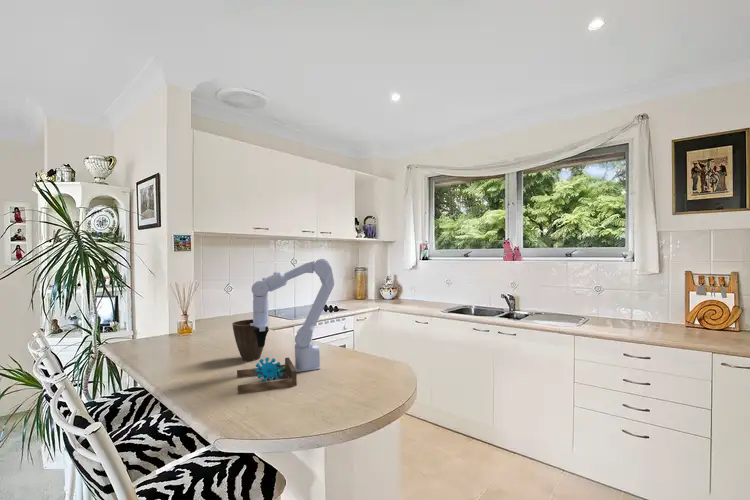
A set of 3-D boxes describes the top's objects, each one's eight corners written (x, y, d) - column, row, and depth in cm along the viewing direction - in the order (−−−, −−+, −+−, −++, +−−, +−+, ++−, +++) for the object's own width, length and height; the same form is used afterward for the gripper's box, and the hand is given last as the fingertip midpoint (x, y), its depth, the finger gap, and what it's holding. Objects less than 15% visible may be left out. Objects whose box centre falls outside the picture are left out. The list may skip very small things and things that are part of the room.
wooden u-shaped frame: (289, 370, 142) (288, 357, 142) (296, 385, 126) (296, 370, 126) (237, 377, 135) (236, 363, 135) (237, 393, 119) (237, 378, 119)
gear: (258, 382, 125) (254, 356, 131) (252, 391, 128) (249, 365, 134) (288, 380, 131) (283, 355, 137) (283, 388, 134) (278, 364, 140)
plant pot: (225, 362, 154) (224, 324, 155) (245, 353, 169) (244, 318, 169) (257, 364, 151) (256, 325, 151) (274, 354, 166) (274, 319, 166)
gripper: (249, 309, 148) (249, 343, 148) (250, 315, 135) (251, 352, 134) (267, 308, 151) (267, 341, 150) (270, 313, 137) (271, 350, 137)
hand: (261, 346), depth 143 cm, fingers closed
